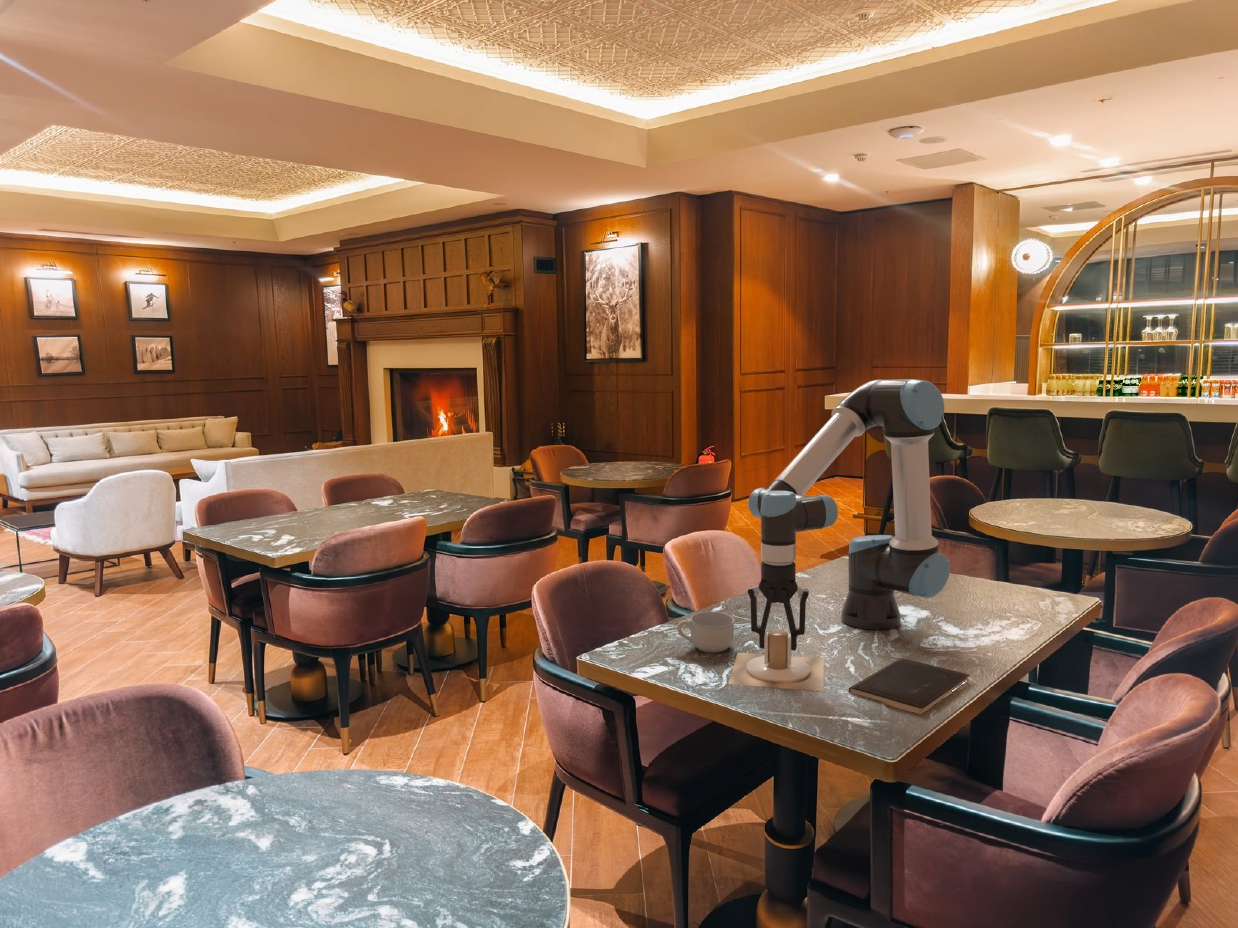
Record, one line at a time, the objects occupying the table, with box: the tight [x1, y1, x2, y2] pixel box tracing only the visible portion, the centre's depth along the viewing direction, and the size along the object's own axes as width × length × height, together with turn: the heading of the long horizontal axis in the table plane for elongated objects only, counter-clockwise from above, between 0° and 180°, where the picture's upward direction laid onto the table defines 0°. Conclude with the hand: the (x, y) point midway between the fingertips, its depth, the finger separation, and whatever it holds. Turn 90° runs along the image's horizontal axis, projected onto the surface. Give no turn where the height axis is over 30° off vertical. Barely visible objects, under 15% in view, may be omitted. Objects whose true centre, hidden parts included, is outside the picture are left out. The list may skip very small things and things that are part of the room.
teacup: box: [676, 610, 736, 654], centre depth 200 cm, size 14×11×8 cm
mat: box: [727, 652, 825, 692], centre depth 185 cm, size 20×20×1 cm
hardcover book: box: [848, 657, 971, 715], centre depth 175 cm, size 16×23×2 cm
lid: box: [746, 630, 810, 682], centre depth 184 cm, size 14×14×8 cm
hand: (777, 662), depth 185 cm, fingers closed on lid, 4 cm apart
